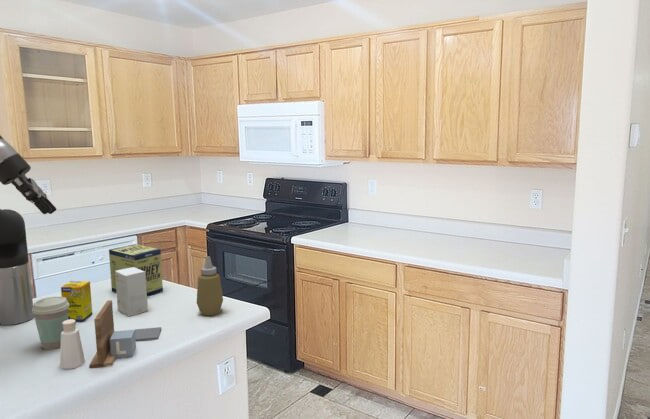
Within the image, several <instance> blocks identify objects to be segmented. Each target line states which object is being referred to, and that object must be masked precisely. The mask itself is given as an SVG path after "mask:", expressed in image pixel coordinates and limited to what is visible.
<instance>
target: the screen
mask: <svg viewBox="0 0 650 419" xmlns="http://www.w3.org/2000/svg"><path fill="white" fill-rule="evenodd" d="M113 310H114V309H113V300H111V299H110V300H106V301H105V303H104V304H103V306H102V308H101V309H100V310H99V312H98V313H97V314H96V317H95V318H94V319H93V320H94V334H95V344H96V346H95V347H96V352H95V354H94V356H93V358H92V359H91V361H90V363H89V368H90V369H91V368H103V367H112V366H113V365H114V362H115V360H116V359H117V358H116V356H115V355H111V348H110V338H111V336H112V335H113V333H114V331H115V325H114V324H115V323H114V311H113Z"/></svg>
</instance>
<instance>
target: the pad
mask: <svg viewBox="0 0 650 419" xmlns="http://www.w3.org/2000/svg"><path fill="white" fill-rule="evenodd" d="M134 330H135V339H136V342H144V341H145V342H146V341H156V340H159V338H160V335H161V332H162V327H161V326H159V327H147V328H146V327H145V328H135V329H134Z"/></svg>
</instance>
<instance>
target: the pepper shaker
mask: <svg viewBox="0 0 650 419" xmlns="http://www.w3.org/2000/svg"><path fill="white" fill-rule="evenodd" d="M62 324H63V330H64V331H63V332H61V347H60V351H59V352H60V355H59V359H60V360H59V366H60V367H61V368H62V369H63V370H73V369H76V368H78V367H82V365H84V364H85V362H86V359H85V354H84V349H83V345H82V340H81V335H80V330H79V329H78V328H76V326H77V325H76V321H75V320H73V319H69V320H65V321H64V322H63V323H62Z"/></svg>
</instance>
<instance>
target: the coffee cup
mask: <svg viewBox="0 0 650 419" xmlns="http://www.w3.org/2000/svg"><path fill="white" fill-rule="evenodd" d="M68 307H69V302H68V301H67V299H66V298H65V297H62V296H49V297H48V296H47V297H44V298H41V299H38V300H36V301H35V302H33V308H32V313H34V317H33V318H34V320H35V324H36V329H37V333H38V336H39V342H40V345H41V348H42V349H44V350H54V349H58V348H61V332H63V331H64V330H63V324H62V323H63V322H64V321H65V320H68Z"/></svg>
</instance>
